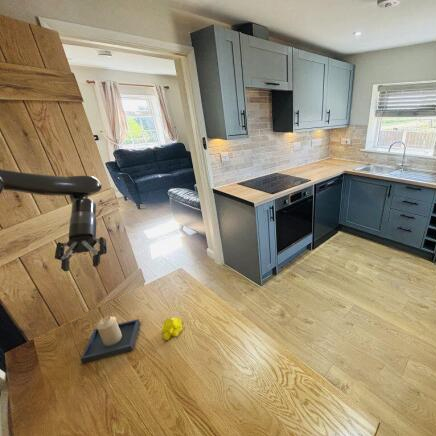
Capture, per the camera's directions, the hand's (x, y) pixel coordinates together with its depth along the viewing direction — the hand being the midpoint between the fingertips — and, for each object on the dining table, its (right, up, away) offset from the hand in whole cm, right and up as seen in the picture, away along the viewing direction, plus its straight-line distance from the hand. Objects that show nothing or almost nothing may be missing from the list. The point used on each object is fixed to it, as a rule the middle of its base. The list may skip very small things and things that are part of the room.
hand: (80, 268), depth 83 cm
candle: (+9, -27, +4) cm, 29 cm away
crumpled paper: (+28, -26, +8) cm, 39 cm away
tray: (+9, -28, +4) cm, 29 cm away
